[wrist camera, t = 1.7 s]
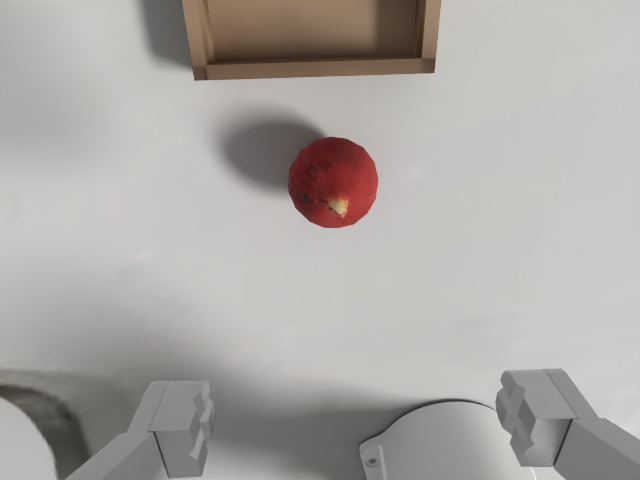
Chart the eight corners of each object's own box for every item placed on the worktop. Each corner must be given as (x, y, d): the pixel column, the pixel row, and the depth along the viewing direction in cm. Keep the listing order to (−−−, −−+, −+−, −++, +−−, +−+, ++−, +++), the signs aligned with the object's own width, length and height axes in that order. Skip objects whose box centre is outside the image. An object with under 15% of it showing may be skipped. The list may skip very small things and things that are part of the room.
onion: (289, 199, 31) (281, 250, 24) (293, 122, 28) (286, 154, 21) (364, 205, 31) (379, 257, 24) (376, 129, 29) (396, 163, 22)
